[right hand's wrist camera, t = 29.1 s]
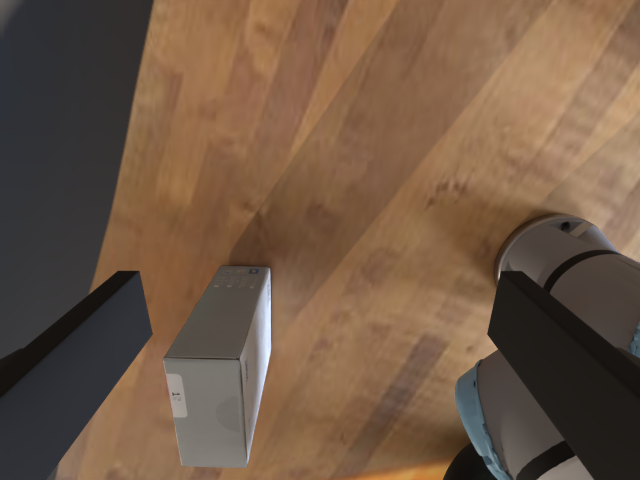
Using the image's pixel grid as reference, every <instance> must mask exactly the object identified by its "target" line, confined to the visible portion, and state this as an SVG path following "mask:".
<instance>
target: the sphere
mask: <svg viewBox="0 0 640 480" xmlns="http://www.w3.org/2000/svg"><path fill="white" fill-rule="evenodd" d="M443 480H498V479H497V478H496V477H495V476H494V475H493V474H492V473H491V471H490V470H489V469H488V467H487V466H486V464H485V462H484V459H483V457H482V456H480V455H479V454H478V452H477V451H476V449H475V447H474V445H473V444H472V443H470V444H469V445H467V446H466V447H465V448H464V449H463V450H462V451H461V452H460V453H459V454H458V455H457V456H456V457H455V459H454V460H453V461H452V463H451V464H450V466H449V468H448V469H447V472H446V474H445V476H444V478H443Z"/></svg>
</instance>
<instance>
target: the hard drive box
mask: <svg viewBox="0 0 640 480" xmlns="http://www.w3.org/2000/svg"><path fill="white" fill-rule="evenodd" d="M270 352H271V285H270V268H268V267H255V266H220V268H219V269H218V271H217V272H216V274H215V276H214V277H213V279H212V281H211V282H210V284H209V285H208V287H207V289H206V290H205V292H204V294H203V295H202V297H201V299H200V300H199V302H198V303H197V305H196V307H195V308H194V310H193V312H192V313H191V315H190V316H189V318H188V320H187V321H186V323H185V325H184V326H183V328H182V329H181V331H180V333H179V334H178V336H177V338H176V339H175V341H174V342H173V344H172V346H171V347H170V349H169V350H168V352H167V354H166V355H165V357H163V363H164V368H165V375H166V381H167V386H168V391H169V397H170V403H171V408H172V414H173V418H174V423H175V430H176V436H177V442H178V447H179V453H180V459H181V465H182V466H194V467H230V468H246V466H247V465H248V460H249V455H250V450H251V445H252V440H253V435H254V431H255V426H256V421H257V416H258V411H259V406H260V401H261V397H262V392H263V387H264V382H265V377H266V372H267V367H268V362H269V358H270Z"/></svg>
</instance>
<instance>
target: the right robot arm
mask: <svg viewBox="0 0 640 480" xmlns="http://www.w3.org/2000/svg"><path fill="white" fill-rule="evenodd" d="M494 279H495V283H496V285H497V291H496V295H495V300H494V305H493V310H492V314H491V319H490V324H489V329H488V333H487V334H488V336H489V337H490V338H491V340H492V341H493V343H494V344H495V345H496V347H497V348H498V350H497V351H495V352H494V353H492V354H491V355H489V356H488V357H486V358H485V359H481V360H479V361H478V362H477V363H476V364H475V366H474V367H473V368H471V369H470V370H469V371H468V372H466V373H465V374H464V375H462V376H461V377H460V378H459V379H458V381H457V383H456V387H455V400H456V405H457V408H458V412H459V415H460V417H461V420H462V423H463V425H464V427H465V429H466V432H467V434H468V436H469V438H470V440H471V442H472V444H473V445H474V447H475V449H476V451H477V452H478V454H479V455H480V456H482V457H483V459H484V462H485V464H486V466H487V467H488V469H489V470H490V471H491V473H492V474H493V475H494V476H495V477H496V478H497V479H498V480H640V263H639V262H637V261H635V260H633V259H631V258H628V257H626V256H624V255H622V254H620V253H619V252H618V251H617V249H616V248H615V247H614V246H613V245H612V243H611V242H610V241H609V240H608V239H607V238H606V236H605V235H604V234H603V233H602V232H601V231H600V230H599V229H598V228H597V227H596V226H595V225H593V224H591V223H590V222H588V221H585V220H583V219H581V218H578V217H576V216H572V215H567V214H551V215H546V216H542V217H539V218H536V219H533V220H531V221H529V222H527V223H526V224H524V225H522V226H521V227H519V228H518V229H517V230H516V231H514V232H513V233H512V234H511V235H510V236H509V237H508V238H507V240H506V241H505V242H504V244H503V245H502V247H501V248H500V250H499V252H498V254H497V257H496V260H495V265H494ZM152 334H153V333H152V329H151V324H150V319H149V314H148V310H147V305H146V300H145V295H144V291H143V286H142V281H141V277H140V272H139V271H117V272H116V273H115V274H114V275H113V276H111V277H110V278H109V279H108V280H106V281H105V282H104V283H103V284H102V285H100V286H99V287H98V288H97V289H95V290H94V291H93V292H92V293H91V294H89V295H88V296H87V297H86V298H85V299H83V300H82V301H81V302H80V303H78V304H77V305H76V306H75V307H74V308H72V309H71V310H70V311H69V312H67V313H66V314H65V315H64V316H63V317H61V318H60V319H59V320H58V321H56V322H55V323H54V324H53V325H52V326H50V327H49V328H48V329H47V330H45V331H44V332H43V333H42V334H41V335H39V336H38V337H37V338H36V339H35V340H33V341H32V342H31V343H30V344H28V345H27V346H26V347H25V348H24V349H19V350H17V351H15V352H13V353H12V354H10V355H8V356H6V357H4V358H2V359H0V480H46V479H47V478H48V476H49V475H50V474H51V472H52V471H53V470H54V468H55V467H56V465H57V464H58V463H59V461H60V460H61V459H62V457H63V456H64V455H65V453H66V452H67V450H68V449H69V448H70V446H71V445H72V444H73V442H74V441H75V440H76V438H77V437H78V435H79V434H80V433H81V431H82V430H83V429H84V427H85V426H86V424H87V423H88V422H89V420H90V419H91V418H92V416H93V415H94V414H95V412H96V411H97V409H98V408H99V407H100V405H101V404H102V403H103V401H104V400H105V399H106V397H107V396H108V394H109V393H110V392H111V390H112V389H113V388H114V386H115V385H116V384H117V382H118V381H119V379H120V378H121V377H122V375H123V374H124V373H125V371H126V370H127V368H128V367H129V366H130V364H131V363H132V362H133V360H134V359H135V358H136V356H137V355H138V353H139V352H140V351H141V349H142V348H143V347H144V345H145V344H146V343H147V341H148V340H149V338H150V337H151V336H152Z"/></svg>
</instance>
